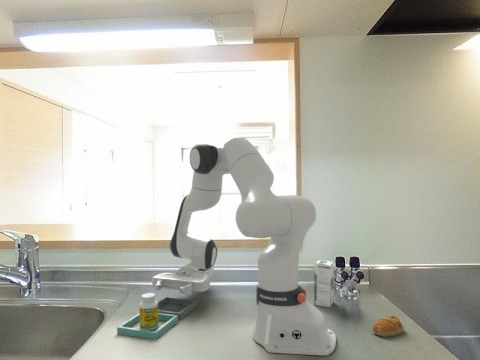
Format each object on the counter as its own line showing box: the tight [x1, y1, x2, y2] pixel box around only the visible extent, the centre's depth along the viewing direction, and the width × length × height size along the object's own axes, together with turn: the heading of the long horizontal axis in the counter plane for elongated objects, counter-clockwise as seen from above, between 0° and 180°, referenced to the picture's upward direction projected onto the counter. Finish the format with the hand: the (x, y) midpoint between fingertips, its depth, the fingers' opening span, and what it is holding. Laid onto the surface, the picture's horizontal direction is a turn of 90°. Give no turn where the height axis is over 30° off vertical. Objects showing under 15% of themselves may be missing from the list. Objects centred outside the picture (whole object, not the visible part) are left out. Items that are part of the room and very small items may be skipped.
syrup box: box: [313, 259, 335, 308], centre depth 120 cm, size 6×6×14 cm
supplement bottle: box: [138, 292, 159, 331], centre depth 102 cm, size 5×5×10 cm
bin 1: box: [116, 312, 179, 340], centre depth 102 cm, size 13×13×2 cm
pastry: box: [372, 314, 405, 338], centre depth 98 cm, size 9×7×4 cm
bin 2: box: [157, 296, 199, 320], centre depth 116 cm, size 13×13×2 cm
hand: (169, 289), depth 114 cm, fingers open, 8 cm apart
